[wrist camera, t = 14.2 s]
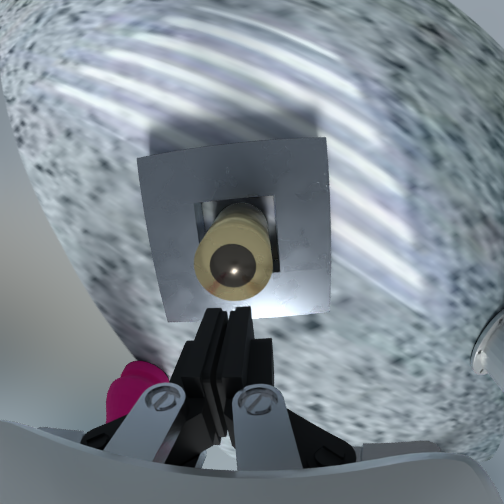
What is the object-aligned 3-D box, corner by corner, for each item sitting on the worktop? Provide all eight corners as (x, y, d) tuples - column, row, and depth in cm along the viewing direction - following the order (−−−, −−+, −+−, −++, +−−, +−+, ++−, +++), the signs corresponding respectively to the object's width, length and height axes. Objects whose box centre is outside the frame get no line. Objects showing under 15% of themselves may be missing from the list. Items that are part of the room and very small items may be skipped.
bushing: (265, 200, 25) (269, 224, 16) (269, 252, 27) (275, 298, 18) (211, 205, 25) (187, 231, 17) (218, 256, 27) (200, 303, 18)
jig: (318, 139, 23) (325, 137, 20) (323, 296, 28) (329, 311, 25) (149, 157, 24) (136, 158, 21) (175, 306, 29) (168, 322, 26)
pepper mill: (139, 347, 31) (69, 489, 12) (185, 383, 32) (147, 528, 13) (112, 372, 32) (49, 491, 13) (153, 403, 34) (112, 525, 15)
